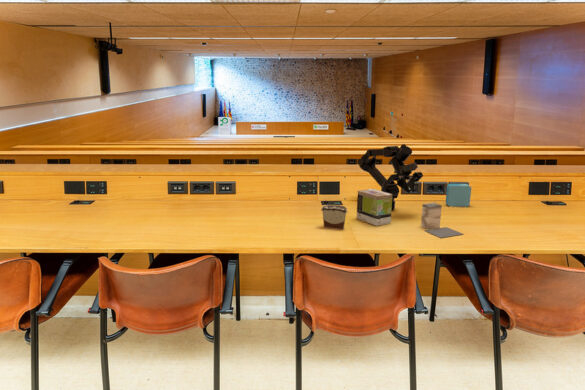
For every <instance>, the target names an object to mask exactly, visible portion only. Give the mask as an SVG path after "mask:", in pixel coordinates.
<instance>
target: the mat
mask: <svg viewBox="0 0 585 390" xmlns="http://www.w3.org/2000/svg"><path fill="white" fill-rule="evenodd" d="M423 231H424V232H426V233H427V234H430V235H432V236H435V237H437V238H440V239H445V238H452V237H458V236H462V235H463V236H464V233H463V232H459V231H457V230H455V229H452V228H450V227H447V226H445V227H444V226H443V227H440V228H435V229H429V230H427V229H425V230H423Z"/></svg>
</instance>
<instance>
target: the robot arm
mask: <svg viewBox="0 0 585 390" xmlns="http://www.w3.org/2000/svg"><path fill="white" fill-rule="evenodd" d="M412 154H413V150H412V149H411V148H410V147H409V146H408V145H406V144H405V143H404V144H401V145H400V147H399V146H398V145H389V146H385V147H383V148H369V149H367V150H366V152H365V153H364V154H363V155H362V156H361V157H360V159H359V161H358V166H359V168H360V169H361V170H362V171H364V172H367V173H368V174H369V175H370V176H371V177H372V179H374V180H375V182H376V183H377V184H378V185H379V186H380V191H383V192H386V193H390V194H392V211H391V212H394V210H395V209H396V200H395V199H397V198H398V197H399V193H400V188H401V189H402V190H404V191H405V192H407V193H408V194H410V193H411V192H412V193H415V190H416V188H415V183H417V182H420V180H421V179H422V178H423V177H424V174H423V172H421V171H417V169H418V168H419V167H418V166H419V165H418V164H417V162H412V163H408V164H405V162H406V161H407V160H408V159H409V158H410V156H411V155H412ZM378 156H381V157H382V156H383V157H384V158H389V161H388V165H391V166H392V168H393V169H394V171H393V174H390V175H389V177H388V178H386V177H385V176H384V175H383V173H381V171H380V170H379V169H378V168H377V167H376V165H377V164H376V162H377V157H378ZM371 157H372V158H371ZM413 171H415V172H413ZM412 172H413V174H412ZM410 190H411V191H410Z"/></svg>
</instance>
